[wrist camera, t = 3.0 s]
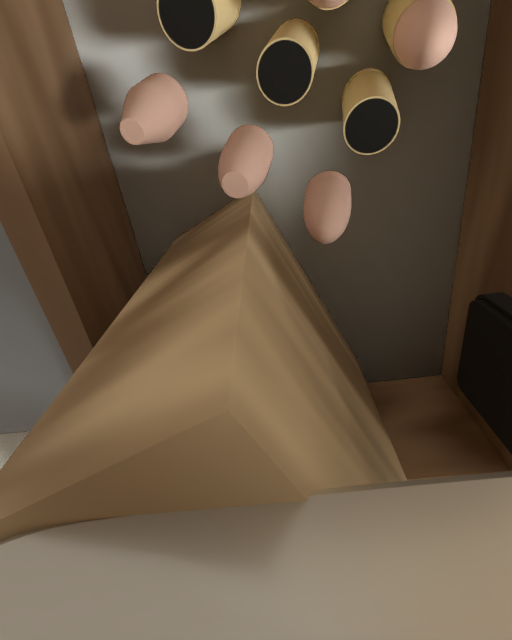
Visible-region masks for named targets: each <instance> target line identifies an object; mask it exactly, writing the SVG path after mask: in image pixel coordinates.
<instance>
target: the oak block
mask: <svg viewBox="0 0 512 640" xmlns="http://www.w3.org/2000/svg"><path fill="white" fill-rule="evenodd" d="M398 481H407V479H406V476H405V474H404V471H403V469H402V467H401V464H400V462H399V459H398V457H397V455H396V452H395V450H394V447H393V445H392V443H391V440H390V438H389V435H388V433H387V431H386V428H385V426H384V423H383V421H382V419H381V416H380V414H379V412H378V409H377V407H376V404H375V402H374V400H373V397H372V395H371V392H370V390H369V388H368V385H367V383H366V380H365V378H364V376H363V373H362V371H361V368H360V366H359V364H358V361H357V359H356V357H355V355H354V354H353V352H352V350H351V349H350V347H349V345H348V344H347V342H346V340H345V339H344V337H343V335H342V334H341V332H340V331H339V329H338V327H337V326H336V324H335V322H334V321H333V319H332V317H331V316H330V314H329V312H328V311H327V309H326V307H325V306H324V304H323V302H322V301H321V299H320V297H319V296H318V294H317V292H316V291H315V289H314V287H313V286H312V284H311V282H310V281H309V279H308V277H307V276H306V274H305V272H304V271H303V269H302V267H301V266H300V264H299V262H298V261H297V259H296V257H295V256H294V254H293V252H292V251H291V249H290V247H289V246H288V244H287V242H286V241H285V239H284V237H283V236H282V234H281V232H280V231H279V229H278V227H277V226H276V224H275V222H274V221H273V219H272V217H271V216H270V214H269V212H268V211H267V209H266V207H265V206H264V204H263V202H262V201H261V199H260V197H259V196H258V194H257V192H256V191H255V192H253V193H252V194H251V195H249V196H247V197H244V198H236V199H235V200H233V201H232V202H230V203H229V204H227V205H226V206H224V207H223V208H221V209H220V210H218V211H217V212H215V213H214V214H212V215H211V216H209V217H208V218H206V219H205V220H203V221H202V222H200V223H199V224H197V225H196V226H194V227H193V228H191V229H190V230H188V231H187V232H185V233H184V234H182V235H181V236H179V237H178V238H176V240H175V241H174V242H173V244H172V245H171V246H170V248H169V249H168V250H167V251H166V253H165V254H164V255H163V257H162V258H161V259H160V261H159V262H158V263H157V265H156V266H155V267H154V269H153V270H152V271H151V273H150V274H149V275H148V276H147V278H146V279H145V280H144V282H143V283H142V284H141V286H140V287H139V288H138V290H137V291H136V292H135V294H134V295H133V296H132V298H131V299H130V300H129V302H128V303H127V304H126V305H125V307H124V308H123V309H122V311H121V312H120V313H119V315H118V316H117V317H116V319H115V320H114V321H113V323H112V324H111V325H110V327H109V328H108V329H107V331H106V332H105V333H104V334H103V336H102V337H101V338H100V340H99V341H98V342H97V344H96V345H95V346H94V348H93V349H92V350H91V352H90V353H89V354H88V356H87V357H86V358H85V360H84V361H83V362H82V363H81V365H80V366H79V367H78V369H77V370H76V371H75V373H74V374H73V375H72V377H71V378H70V379H69V381H68V382H67V383H66V385H65V386H64V387H63V389H62V390H61V391H60V392H59V394H58V395H57V396H56V398H55V399H54V400H53V402H52V403H51V404H50V406H49V407H48V408H47V410H46V411H45V412H44V414H43V415H42V416H41V418H40V419H39V420H38V421H37V423H36V424H35V425H34V427H33V428H32V429H31V431H30V432H29V433H28V435H27V436H26V437H25V439H24V440H23V441H22V443H21V444H20V445H19V447H18V448H17V449H16V450H15V452H14V453H13V454H12V456H11V457H10V458H9V460H8V461H7V462H6V464H5V465H4V466H3V468H2V469H1V470H0V542H1V541H3V540H5V539H7V538H10V537H12V536H14V535H18V534H22V533H25V532H29V531H33V530H36V529H40V528H44V527H50V526H56V525H62V524H68V523H75V522H82V521H90V520H98V519H107V518H115V517H124V516H132V515H142V514H154V513H166V512H178V511H190V510H202V509H215V508H227V507H239V506H251V505H263V504H275V503H287V502H299V501H308V497H307V496H309V495H310V494H312V493H314V492H316V491H318V490H320V489H327V488H337V487H348V486H358V485H368V484H378V483H388V482H398Z"/></svg>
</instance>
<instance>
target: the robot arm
mask: <svg viewBox="0 0 512 640" xmlns="http://www.w3.org/2000/svg"><path fill="white" fill-rule="evenodd" d="M457 383H458V386H459V388H460V390H461V391H462V392H463V394H464V395H465V396H466V397H467V399H468V400H469V401H470V403H471V404H472V405H473V406H474V408H475V409H476V410H477V411H478V413H479V414H480V415H481V416H482V418H483V419H484V420H485V421H486V423H487V424H488V425H489V427H490V428H491V429H492V430H493V432H494V433H495V434H496V435H497V437H498V438H499V439H500V440H501V442H502V443H503V444H504V446H505V447H506V448H507V449H508V451H509V452H510V453H511V454H512V297H510V296H509V295H507V294H506V293H504V292H496V293H488V294H480V295H478V296H477V297H476V298H475V300H473V301H471V302H470V304H469V308H468V314H467V320H466V326H465V332H464V338H463V344H462V350H461V356H460V361H459V367H458V373H457ZM307 497H308V501H299V502H287V503H275V504H263V505H251V506H239V507H227V508H215V509H202V510H190V511H178V512H166V513H154V514H142V515H132V516H124V517H115V518H107V519H98V520H90V521H82V522H75V523H68V524H62V525H56V526H50V527H44V528H40V529H36V530H33V531H29V532H25V533H22V534H18V535H14V536H12V537H10V538H7V539H5V540H3V541H1V542H0V640H512V471H504V472H494V473H483V474H472V475H461V476H451V477H440V478H429V479H419V480H409V481H398V482H388V483H378V484H368V485H358V486H348V487H337V488H327V489H320V490H318V491H316V492H314V493H312V494H310V495H309V496H307Z"/></svg>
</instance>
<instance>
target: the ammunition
mask: <svg viewBox="0 0 512 640" xmlns="http://www.w3.org/2000/svg"><path fill="white" fill-rule="evenodd" d="M347 1H348V0H309V2H310V3H311V4H313V5H314V6H315V7H317V8H319V9H323V10H333V9H336V8H338V7H340V6H342V5H344V4H345V3H346V2H347ZM240 8H241V0H157V14H158V19H159V22H160V25H161V27H162V29H163V31H164V33H165V35H166V36H167V37H168V39H169V40H170V41H171V42H172V43H173V44H174V45H175V46H177V47H178V48H180V49H182V50H185V51H198V50H201V49H202V48H204V47H205V46H207V45H208V44H210V43H211V42H212V41H214V40H215V39H216V38H218V37H219V36H221V35H222V34H223V33H225V32H226V31H227V30H229V29H230V28H231V27H232V26H233V25H234V24H235V22H236V21H237V19H238V16H239V13H240ZM457 28H458V27H457V14H456V10H455V7H454V5H453V3H452V1H451V0H389V1H388V3H387V5H386V7H385V10H384V13H383V19H382V29H383V33H384V36H385V38H386V40H387V42H388V44H389V46H390V48H391V50H392V52H393V54H394V56H395V58H396V59H397V61H398V62H399V63H400V64H401V65H402V66H404V67H406V68H410V69H416V70H424V69H428V68H431V67H433V66H435V65H437V64H438V63H440V62H441V61H442V60H443V59H444V58H445V57H446V56H447V55H448V54H449V52H450V50H451V49H452V47H453V45H454V42H455V39H456V35H457ZM319 50H320V45H319V38H318V35H317V33H316V31H315V29H314V28H313V26H312V25H311V24H310V23H308V22H307V21H305V20H303V19H298V18H296V19H290V20H287V21H286V22H284V23H283V24H282V25H280V26H279V28H278V29H277V30H276V32H275V33H274V35H273V36H272V37H271V39H270V40H269V42H268V43H267V45H266V46H265V48H264V49H263V51H262V52H261V54H260V56H259V59H258V62H257V68H256V78H257V83H258V86H259V89H260V91H261V92H262V94H263V96H264V97H265V98H266V99H267V100H268V101H270V102H271V103H273V104H275V105H278V106H290V105H293V104H295V103H297V102H299V101H300V100H301V99H303V97H304V96H305V95H306V94H307V92H308V91H309V89H310V87H311V84H312V81H313V77H314V73H315V69H316V65H317V61H318V56H319ZM342 107H343V135H344V139H345V142H346V144H347V145H348V147H349V148H350V149H351V150H353V151H354V152H356V153H358V154H362V155H372V154H376V153H379V152H381V151H382V150H384V149H386V148H387V147H388V146H389V145H390V144H391V143H392V142H393V141H394V139H395V137H396V136H397V133H398V131H399V127H400V114H399V110H398V107H397V103H396V100H395V97H394V93H393V90H392V87H391V83H390V81H389V78H388V77H387V75H386V74H385V73H384V72H383V71H381V70H379V69H376V68H366V69H363V70H360V71H358V72H357V73H356V74H354V75H353V76H352V77H351V78H350V79H349V81H348V82H347V84H346V86H345V88H344V91H343V97H342ZM187 115H188V99H187V96H186V94H185V92H184V90H183V88H182V87H181V85H180V84H179V83H178V82H177V81H176V80H175V79H174V78H172V77H171V76H169V75H167V74H163V73H154V74H151V75H150V76H148V77H146V78H145V79H144V80H142V81H141V82H139V83H138V84H136V85H135V86H133V87H132V88H131V89H130V90H129V91H128V93H127V95H126V98H125V103H124V108H123V112H122V117H121V122H120V132H121V135H122V136H123V138H124V139H125V140H126V141H127V142H128V143H130V144H133V145H141V144H151V143H161V142H165V141H167V140H168V139H170V138H171V137H172V136H173V135H174V133H175V132H176V131H177V130H178V129H179V128H180V127H181V125H182V124H183V123H184V122H185V120H186V118H187ZM273 154H274V147H273V143H272V140H271V138H270V136H269V135H268V134H267V133H266V132H265V131H264V130H263V129H262V128H260V127H258V126H255V125H243V126H240V127H238V128H237V129H236V130H234V132H233V133H232V134H231V136H230V137H229V139H228V141H227V143H226V144H225V146H224V148H223V150H222V152H221V155H220V159H219V164H218V178H219V182H220V185H221V188H222V189H223V191H224V192H225V193H226V194H227V195H228V196H230V197H232V198H244V197H247V196H249V195H251V194H252V193H253V192H255V191H256V190H257V189H258V188H259V187H260V185H261V184H262V183H263V181H264V180H265V178H266V176H267V173H268V171H269V168H270V165H271V162H272V159H273ZM351 206H352V204H351V186H350V183H349V181H348V179H347V178H346V177H345V176H344V175H342V174H341V173H338V172H335V171H324V172H321V173H319V174H317V175H315V176H314V177H313V178H312V179H311V180H310V181H309V183H308V185H307V188H306V192H305V199H304V209H303V213H304V220H305V225H306V227H307V230H308V232H309V233H310V235H311V236H312V238H313V239H314V240H316V241H318V242H319V243H322V244H329V243H332V242H334V241H335V240H337V239H338V238H339V237H340V236H341V235H342V233H343V232H344V230H345V229H346V227H347V224H348V222H349V219H350V214H351Z"/></svg>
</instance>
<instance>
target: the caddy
mask: <svg viewBox="0 0 512 640" xmlns="http://www.w3.org/2000/svg"><path fill="white" fill-rule="evenodd" d="M0 222H1V224H2V226H3V228H4V230H5V232H6V234H7V236H8V239H9V241H10V243H11V245H12V247H13V249H14V251H15V253H16V255H17V257H18V259H19V262H20V264H21V266H22V268H23V270H24V272H25V274H26V276H27V278H28V280H29V282H30V284H31V287H32V289H33V291H34V293H35V295H36V297H37V299H38V301H39V303H40V305H41V307H42V310H43V312H44V314H45V316H46V318H47V320H48V322H49V324H50V326H51V328H52V330H53V333H54V335H55V337H56V339H57V341H58V343H59V345H60V347H61V349H62V351H63V353H64V356H65V358H66V360H67V362H68V364H69V366H70V368H71V370H72V372H73V374H74V373H75V371H76V370H77V369H78V367H79V366H80V365H81V363H82V362H83V361H84V360H85V358H86V357H87V356H88V354H89V353H90V352H91V350H92V349H93V348H94V346H95V345H96V344H97V342H98V341H99V340H100V338H101V337H102V336H103V334H104V333H105V332H106V331H107V329H108V328H109V327H110V325H111V324H112V323H113V321H114V320H115V319H116V317H117V316H118V315H119V313H120V312H121V311H122V309H123V308H124V307H125V305H126V304H127V303H128V302H129V300H130V299H131V298H132V296H133V295H134V294H135V292H136V291H137V290H138V288H139V287H140V286H141V284H142V283H143V282H144V280H145V279H146V278H147V276H146V273H145V270H144V266H143V263H142V260H141V256H140V253H139V250H138V247H137V243H136V240H135V237H134V234H133V230H132V227H131V224H130V221H129V217H128V214H127V211H126V208H125V204H124V201H123V198H122V194H121V191H120V188H119V185H118V181H117V178H116V175H115V172H114V168H113V165H112V162H111V159H110V155H109V152H108V149H107V146H106V142H105V139H104V136H103V132H102V129H101V126H100V123H99V119H98V116H97V113H96V110H95V106H94V103H93V100H92V97H91V93H90V90H89V87H88V83H87V80H86V77H85V74H84V70H83V67H82V64H81V61H80V57H79V54H78V51H77V48H76V44H75V41H74V38H73V35H72V31H71V28H70V25H69V21H68V18H67V15H66V12H65V8H64V5H63V2H62V0H0ZM496 292H504V293H506V294H507V295H509V296H510V297H512V0H492V1H491V8H490V15H489V23H488V30H487V38H486V45H485V52H484V60H483V67H482V75H481V82H480V89H479V97H478V104H477V112H476V119H475V126H474V134H473V141H472V148H471V156H470V163H469V171H468V178H467V185H466V193H465V200H464V208H463V215H462V222H461V230H460V237H459V245H458V252H457V259H456V267H455V274H454V282H453V289H452V296H451V304H450V311H449V319H448V326H447V333H446V341H445V348H444V356H443V363H442V370H441V375H437V376H428V377H418V378H408V379H398V380H389V381H379V382H369V383H367V385H368V388H369V390H370V392H371V395H372V397H373V400H374V402H375V404H376V407H377V409H378V412H379V414H380V416H381V419H382V421H383V423H384V426H385V428H386V431H387V433H388V435H389V438H390V440H391V443H392V445H393V447H394V450H395V452H396V455H397V457H398V459H399V462H400V464H401V467H402V469H403V471H404V474H405V476H406V479H407V481H409V480H419V479H429V478H440V477H451V476H461V475H472V474H483V473H494V472H504V471H512V454H511V453H510V452H509V451H508V449H507V448H506V447H505V446H504V444H503V443H502V442H501V440H500V439H499V438H498V437H497V435H496V434H495V433H494V432H493V430H492V429H491V428H490V427H489V425H488V424H487V423H486V421H485V420H484V419H483V418H482V416H481V415H480V414H479V413H478V411H477V410H476V409H475V408H474V406H473V405H472V404H471V403H470V401H469V400H468V399H467V397H466V396H465V395H464V394H463V392H462V391H461V390H460V388H459V386H458V383H457V373H458V367H459V361H460V356H461V350H462V344H463V338H464V332H465V326H466V320H467V314H468V308H469V304H470V302H471V301H473V300H475V298H476V297H477V296H478V295H480V294H488V293H496Z"/></svg>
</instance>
